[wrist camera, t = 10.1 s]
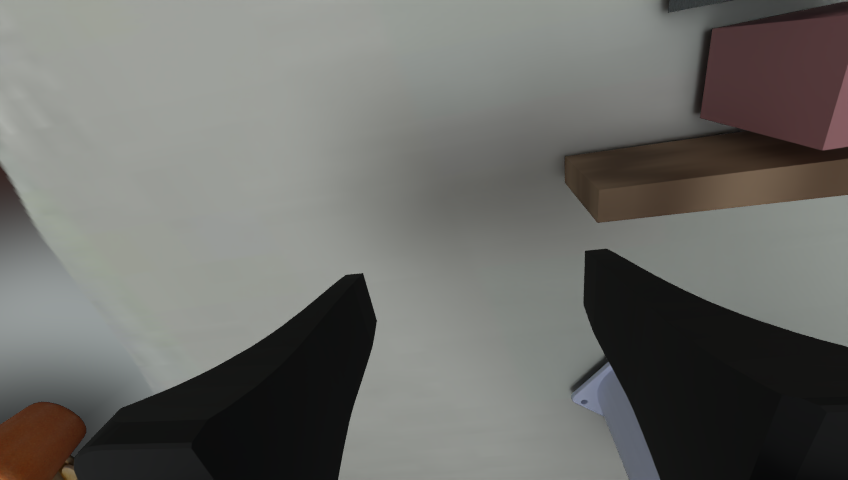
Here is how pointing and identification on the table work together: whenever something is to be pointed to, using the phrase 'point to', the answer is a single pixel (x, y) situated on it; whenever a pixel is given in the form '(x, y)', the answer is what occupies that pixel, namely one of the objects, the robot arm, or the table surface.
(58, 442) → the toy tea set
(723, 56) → the mauve rectangular block
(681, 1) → the bookend
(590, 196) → the shelf wall
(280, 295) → the table surface
